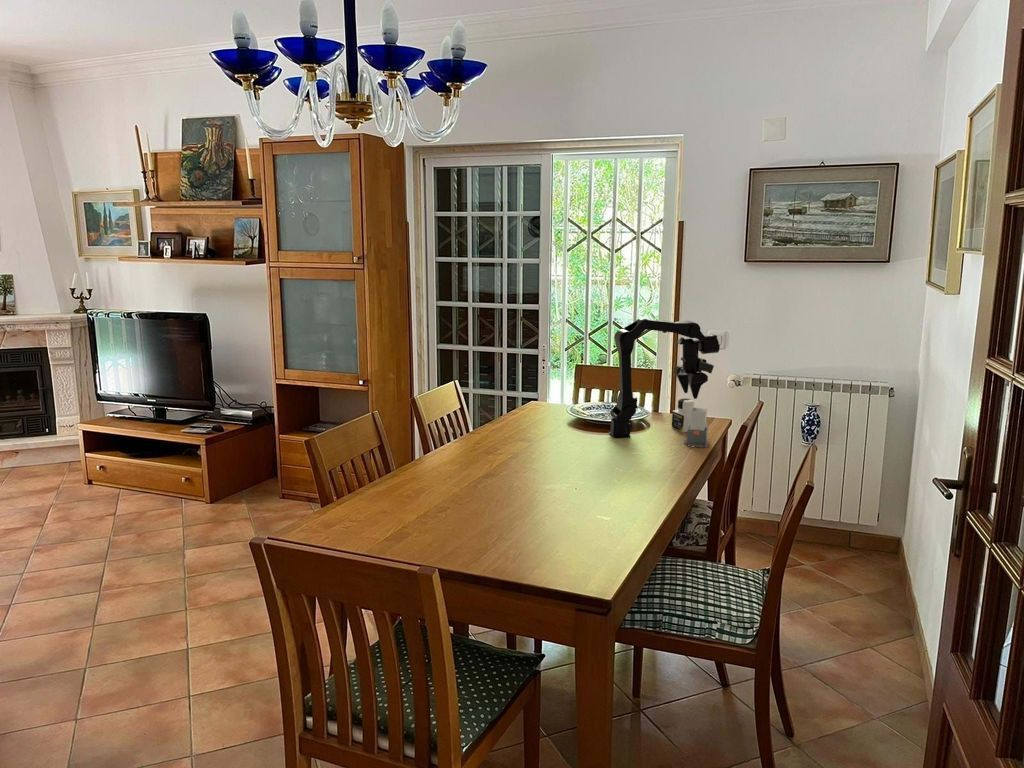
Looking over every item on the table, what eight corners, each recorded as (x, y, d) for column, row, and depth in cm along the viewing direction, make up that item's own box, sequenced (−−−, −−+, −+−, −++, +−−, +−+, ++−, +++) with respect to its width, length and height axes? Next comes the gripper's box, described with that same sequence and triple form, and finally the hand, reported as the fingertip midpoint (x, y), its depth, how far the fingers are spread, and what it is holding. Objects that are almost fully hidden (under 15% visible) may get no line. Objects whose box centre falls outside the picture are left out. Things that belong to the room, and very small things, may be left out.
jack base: (682, 446, 266) (683, 430, 264) (685, 439, 274) (686, 424, 273) (708, 449, 263) (709, 433, 261) (710, 442, 271) (711, 427, 270)
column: (688, 443, 267) (691, 410, 264) (690, 439, 271) (692, 407, 269) (703, 444, 265) (705, 412, 262) (704, 440, 270) (707, 408, 267)
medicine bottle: (671, 428, 289) (673, 398, 286) (685, 426, 292) (687, 396, 289) (682, 432, 283) (684, 402, 280) (697, 431, 286) (699, 400, 283)
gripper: (721, 357, 267) (721, 399, 270) (701, 349, 285) (701, 388, 288) (692, 360, 265) (692, 402, 269) (673, 351, 283) (673, 391, 287)
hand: (690, 395), depth 278 cm, fingers open, 9 cm apart
